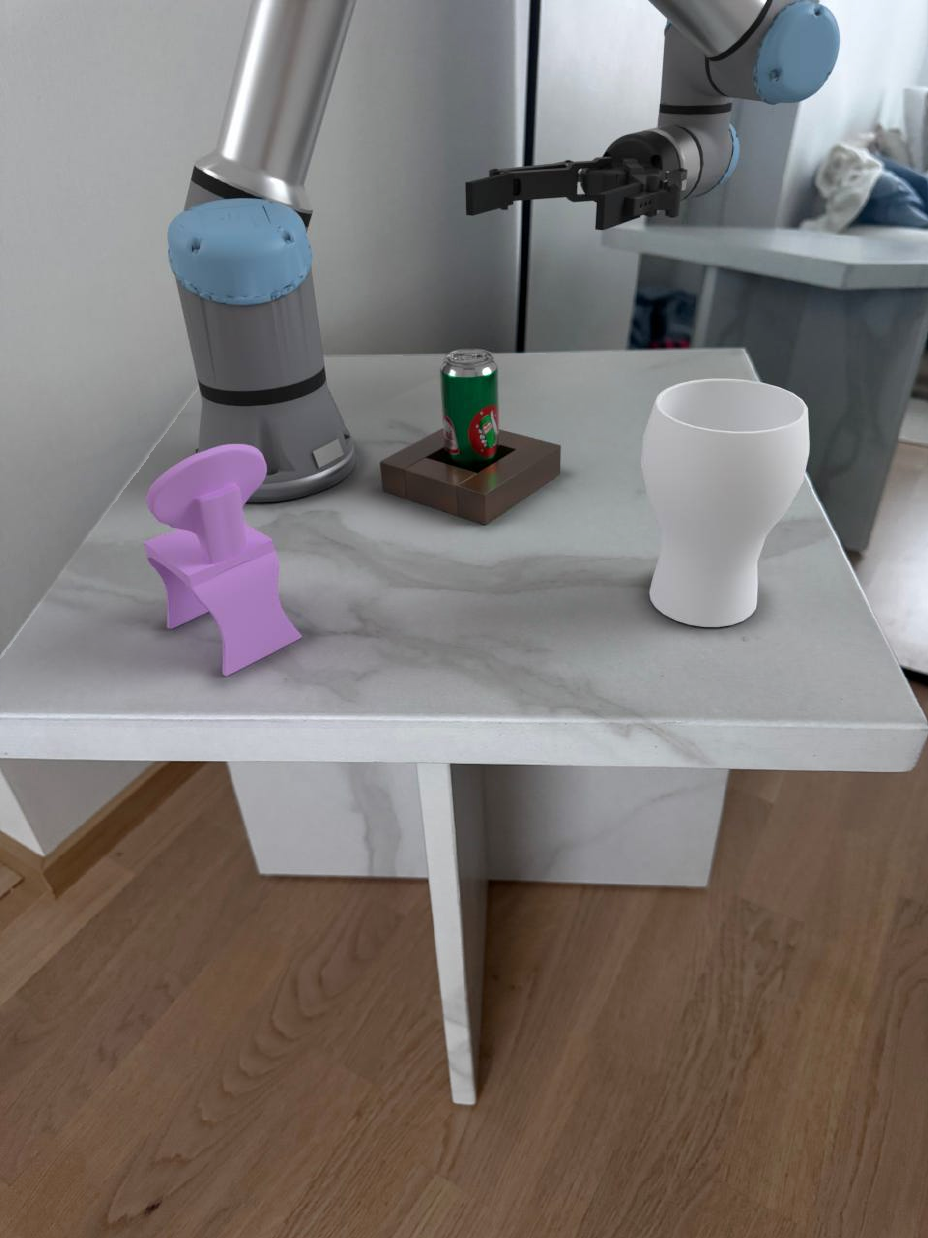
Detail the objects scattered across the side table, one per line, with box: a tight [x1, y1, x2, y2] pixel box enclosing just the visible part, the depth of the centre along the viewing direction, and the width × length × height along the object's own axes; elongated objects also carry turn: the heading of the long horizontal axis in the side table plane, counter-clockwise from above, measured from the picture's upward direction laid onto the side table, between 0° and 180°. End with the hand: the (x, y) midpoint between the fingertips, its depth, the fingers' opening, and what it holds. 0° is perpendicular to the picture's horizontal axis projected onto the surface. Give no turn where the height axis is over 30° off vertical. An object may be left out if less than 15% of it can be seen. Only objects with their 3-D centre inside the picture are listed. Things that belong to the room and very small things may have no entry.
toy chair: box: [142, 444, 303, 677], centre depth 59 cm, size 8×9×15 cm
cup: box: [640, 378, 811, 628], centre depth 60 cm, size 11×11×15 cm
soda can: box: [439, 348, 500, 473], centre depth 78 cm, size 5×5×12 cm
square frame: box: [379, 427, 562, 526], centre depth 80 cm, size 12×12×3 cm
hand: (531, 205), depth 75 cm, fingers open, 13 cm apart
